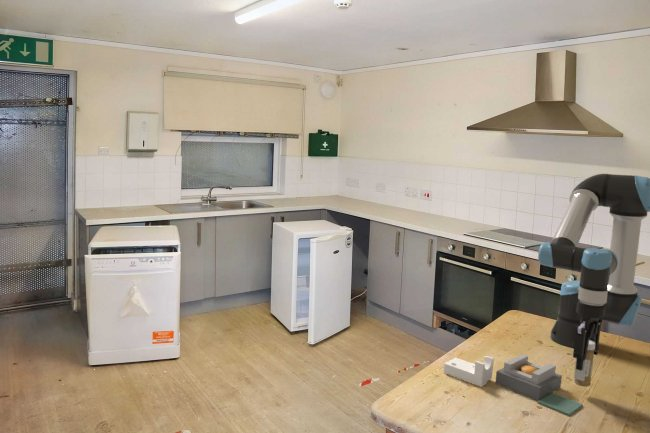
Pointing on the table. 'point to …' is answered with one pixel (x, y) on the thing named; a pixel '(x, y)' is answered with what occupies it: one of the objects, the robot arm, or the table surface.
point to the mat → (560, 404)
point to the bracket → (470, 370)
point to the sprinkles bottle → (587, 366)
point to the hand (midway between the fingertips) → (582, 376)
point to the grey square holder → (528, 378)
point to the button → (528, 369)
